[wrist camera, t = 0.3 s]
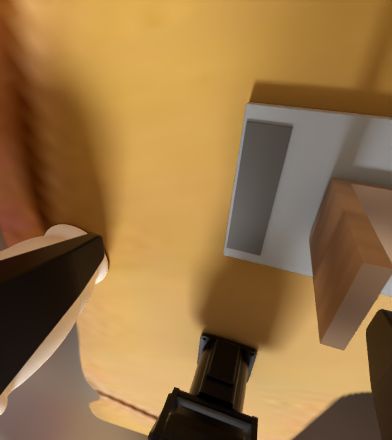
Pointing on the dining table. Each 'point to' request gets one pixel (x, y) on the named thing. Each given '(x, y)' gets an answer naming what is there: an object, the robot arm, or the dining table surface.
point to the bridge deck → (298, 177)
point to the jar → (68, 320)
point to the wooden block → (350, 256)
